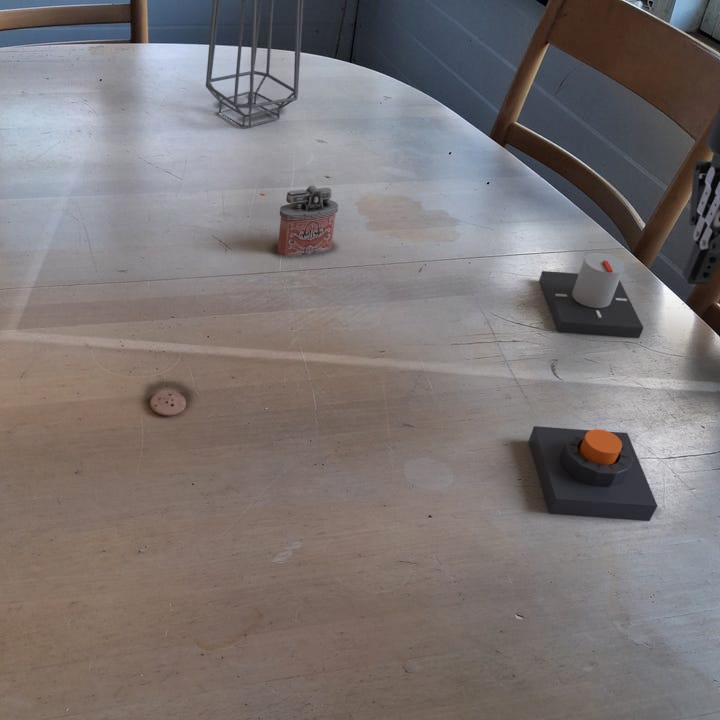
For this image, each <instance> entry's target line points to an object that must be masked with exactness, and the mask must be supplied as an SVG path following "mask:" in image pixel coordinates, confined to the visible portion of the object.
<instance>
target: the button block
mask: <svg viewBox="0 0 720 720" xmlns="http://www.w3.org/2000/svg"><path fill="white" fill-rule="evenodd" d="M590 430H591V429H577V428H567V427H566V428H564V427H550V426H536V425H534V426H533V427H532V430H531V434H530V436H529V438H528V445H529V450H530V452H531V456H532V459H533V462H534V466H535V469H536V473H537V477H538V480H539V484H540V487H541V491H542V494H543V497H544V501H545V504H546V508H547V511H548V514H549V515H556V516H558V515H559V516H560V515H561V516H572V517H584V518H585V517H587V518H598V519H599V518H601V519H613V520H628V521H640V522H641V521H642V522H650V521H651V519H652V517H653V515H654V514H655V512H656V510H657V508H658V504H657V500H656V498H655V496H654V494H653V491H652V489H651V486H650V484H649V481H648V480H647V476H646V474H645V472H644V469H643V467H642V465H641V463H640V460H639V458H638V455H637V453H636V450H635V448H634V446H633V443H632V441H631V438H630V436H629V434H628V433H629V432H619V431H610V432H611V433H613V434H614V435H616V436H617V437H618V438H619V439H620V441H621V443H622V448H621V450H620V452H619V454H618V457H617V459H616V461H615V462H614V463H613V464H611V465H598V464H596V463H593V462H591V461H589V460H587V459H586V458H584V457H583V456H582V455H581V453H580V446H581V444H582V442H583V439H584V437H585V434H586V433H587V432H588V431H590Z"/></svg>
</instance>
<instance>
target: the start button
mask: <svg viewBox="0 0 720 720" xmlns="http://www.w3.org/2000/svg"><path fill="white" fill-rule="evenodd" d="M589 430H590V431H588V432H587V433H586V434H585V437H584V439H583V442H582V444H581V446H580V453H581V455H582V456H583V457H584V458H586V459H587V460H589V461H591V462H593V463H596V464H598V465H611V464H613V463H614V462H615V461H616V459H617V457H618V454H619V452H620V450H621V448H622V443H621V441H620V439H619V438H618V437H617V436H616V435H614V434H613V433H611V432H612V431H608V430H605V429H600V428H599V429H597V428H594V429H589Z"/></svg>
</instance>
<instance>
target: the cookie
mask: <svg viewBox="0 0 720 720" xmlns="http://www.w3.org/2000/svg"><path fill="white" fill-rule="evenodd" d="M149 405H150V408H151V410H153V412H155V413H156V414H159V415H161V416H171V417H172V416H174V415H178V414H179V413H182V412H183V411H184V410H185V408H186V406H187V401H186V399H185V397H184V396H183V395H182V394H180V393H179V392H176V391H170V390H169V391H167V390H165V391H160V392H157V393H156V394H154V395H153V396H152V397H151V399H150V403H149Z"/></svg>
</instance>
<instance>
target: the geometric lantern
mask: <svg viewBox="0 0 720 720" xmlns="http://www.w3.org/2000/svg"><path fill="white" fill-rule="evenodd" d="M262 4H263V0H258V3H257V0H252V15H251V16H252V18H251V19H252V20H251V47H250V48H251V49H250V50H251V51H250V70H249V71H243V72H240V71H241V61H242V60H241V59H242V47H243V36H244V24H245V23H244V22H245V11H246V0H241V10H240V22H239V33H238V46H237V58H236V69H235V73H234V74H228V75H225V76H219V77H213V78H212V76H213V67H214V61H215V60H214V59H215V52H216V51H215V49H216V41H217V32H218V25H219V15H220V5H221V0H212V9H211V17H210V18H211V19H210V30H209V45H208V55H207V66H206V79H205V88H206V89H207V90H208V91H209V92H210V93H211V95H213V97H214V98H215V99H216V100H217V101H218V104H219V106H218V108H219V109H218V111H219V113H221V114H222V112H221V110H222V109H223V106H224V107H227V108H230V109H231V110H232V111H234V112H235V113H236V114H238V115H240V116H242V123H240V122H238V121H236V120H234V119H232V118H231V117H229V116H227V115H225V114H223V116H225V117H227V118H228V119H230V120H232V121H233V122H235V123H236V124H235V123H234V124H235V125H237V124H238V125H237V126H239V127H241V128H242V127H245V128H253V127H255V126H260V125H263V124H267V123H270V122H271V123H272V122H275V121H277V120H280V119H281V109H283V108H285V107H286V106H288V105H290V104H291V103H293V102H294V101H297V100H298V97H299V83H300V65H301V47H302V46H301V45H302V31H303V14H304V0H295V29H294V30H295V34H294V64H293V65H294V69H293V70H294V72H293V87H292V86H291V85H288V84H287V83H285V82H284V81H281V80H280V79H278V78H277V77H275V76H274V75H272V74H271V73H270V69H271V67H270V66H271V65H270V64H271V51H272V49H271V48H272V32H273V31H272V30H273V28H272V27H273V15H274V0H269V15H268V16H269V17H268V34H267V36H268V37H267V52H266V54H267V55H266V67H265V68H266V70H265V72H262V71H258V70H255V68H256V67H255V66H256V58H257V49H258V40H259V32H260V23H261V22H260V21H261V14H262ZM255 75H257V76H261V77H263V78H262V79H261V81H260V82H259V84H258V86H257V88H256V90H255V91H254V87H255V86H254V83H255V81H254V80H255ZM245 76H249V90H248V91H245V92H241V93H239V82H240V77H245ZM234 78H235V80H234V92H233V93H234V94H233V95H230V96H226V95H224V94H223V93H221V92H220V91H218V90H217V89H216V88H215V86H213V84H212V83H214V82H219V81H224V80H229V79H234ZM266 78H269V79H270V80H272V81H274V82H275V83H277V84H279V85H280V86H282V87H284V88H286V89H287V90H289V91H291V92H292V93H291V94H290V95H288V96H287V97H286V98H282V99H275V100H272V99H270V98H268V97H267V96H265V95H262V94H260V93H259V91H260V89H261V87H262V85H263V83H264V82H265V80H266ZM245 95H247V97H248V98H247V102H246V103H238V98H239V97H242V96H245ZM257 97H260V98H261V99H263V100H265V101H264V102H258V103H257ZM232 99H233V100H232ZM229 104H230V105H229ZM271 105H276V107H274V108H270V109H268V108H266V106H271ZM233 107H235V109H234V108H233ZM241 108H242V109H248V114H245V113H244V112H243V111H242V110H241ZM254 108H255V109H256V108H260V109H262V111H257V112H254V113H252V109H254ZM275 111H277V112H275ZM219 113H218V114H219ZM266 113H270V114H271V115H274V116H275V117H273V118H270V119H265V120H263V121H259V122H255V123H252V119H253V116H258V115H262V114H266ZM246 118H248V124H246ZM228 119H227V120H228ZM230 120H229V121H230ZM233 122H232V123H233Z"/></svg>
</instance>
